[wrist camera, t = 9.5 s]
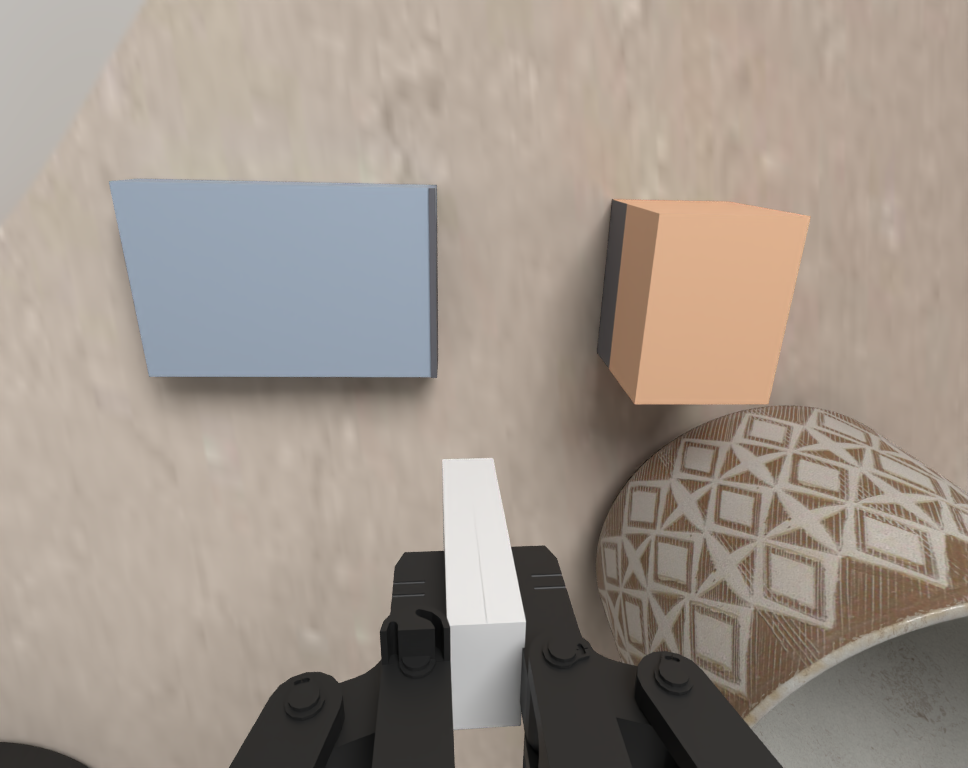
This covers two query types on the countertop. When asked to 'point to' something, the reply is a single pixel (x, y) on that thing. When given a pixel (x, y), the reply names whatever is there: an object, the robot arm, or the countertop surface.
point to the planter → (801, 585)
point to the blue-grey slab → (282, 277)
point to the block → (698, 299)
